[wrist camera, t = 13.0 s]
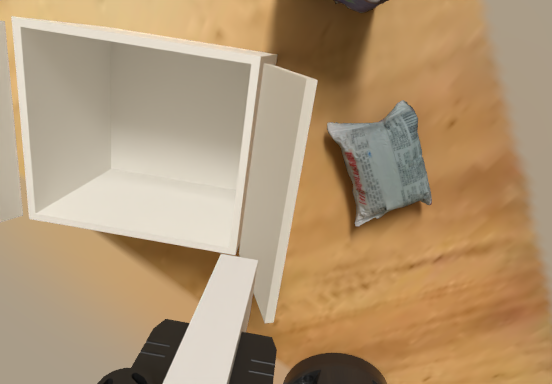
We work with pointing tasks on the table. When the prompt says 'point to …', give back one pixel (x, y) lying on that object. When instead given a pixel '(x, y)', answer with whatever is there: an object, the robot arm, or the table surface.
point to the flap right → (275, 177)
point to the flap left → (7, 141)
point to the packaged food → (383, 162)
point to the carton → (137, 131)
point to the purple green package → (361, 4)
